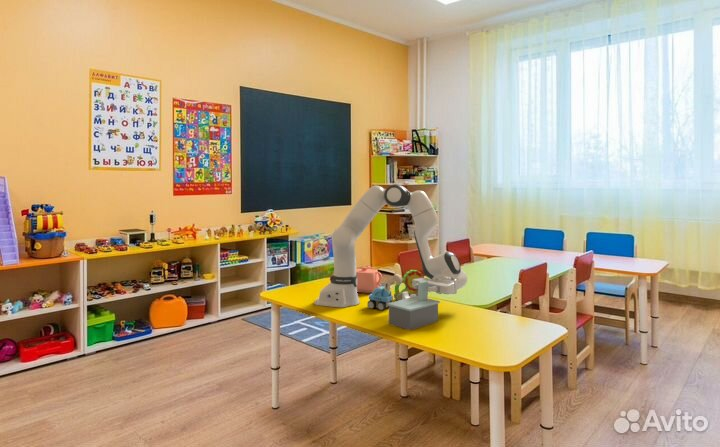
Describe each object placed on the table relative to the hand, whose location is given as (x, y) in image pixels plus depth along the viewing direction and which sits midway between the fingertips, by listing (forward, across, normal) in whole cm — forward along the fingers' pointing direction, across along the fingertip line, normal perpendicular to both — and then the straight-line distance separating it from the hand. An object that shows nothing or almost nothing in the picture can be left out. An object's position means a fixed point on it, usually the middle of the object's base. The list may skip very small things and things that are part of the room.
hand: (421, 288), depth 197 cm
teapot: (-22, -59, +14) cm, 64 cm away
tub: (+5, 0, +14) cm, 15 cm away
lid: (+5, 0, +6) cm, 8 cm away
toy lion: (-24, -28, +14) cm, 39 cm away
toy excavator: (-2, -24, +14) cm, 28 cm away
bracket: (-16, -16, +14) cm, 27 cm away
